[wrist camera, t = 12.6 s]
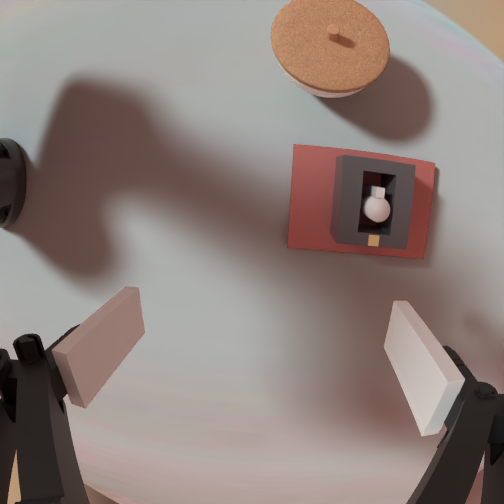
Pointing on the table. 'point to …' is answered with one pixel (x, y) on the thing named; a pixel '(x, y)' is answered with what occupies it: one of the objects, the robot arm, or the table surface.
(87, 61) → the table surface
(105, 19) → the table surface
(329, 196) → the plate
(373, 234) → the hollow frame block
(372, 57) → the lidded jar
